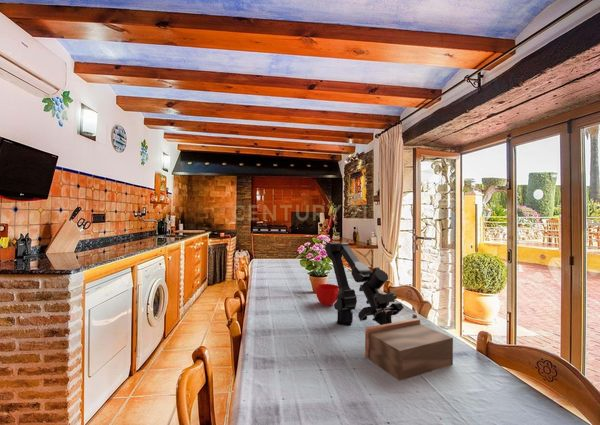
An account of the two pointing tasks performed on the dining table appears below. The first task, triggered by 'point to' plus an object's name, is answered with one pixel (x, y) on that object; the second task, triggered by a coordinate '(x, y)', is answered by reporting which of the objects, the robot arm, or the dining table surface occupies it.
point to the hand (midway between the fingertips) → (391, 332)
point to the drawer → (384, 328)
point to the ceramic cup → (327, 294)
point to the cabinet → (411, 350)
